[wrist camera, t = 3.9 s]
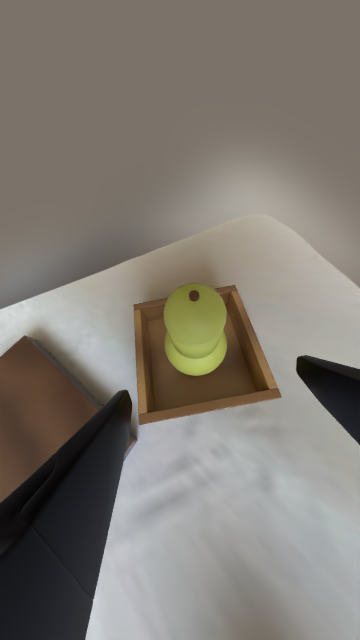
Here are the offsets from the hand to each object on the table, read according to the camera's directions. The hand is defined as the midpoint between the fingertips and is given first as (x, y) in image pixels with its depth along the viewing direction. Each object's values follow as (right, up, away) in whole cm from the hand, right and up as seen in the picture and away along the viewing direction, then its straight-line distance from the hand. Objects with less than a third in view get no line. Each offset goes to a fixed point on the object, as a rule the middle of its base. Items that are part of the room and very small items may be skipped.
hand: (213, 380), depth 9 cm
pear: (0, -1, +12) cm, 12 cm away
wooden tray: (0, -1, +12) cm, 12 cm away
